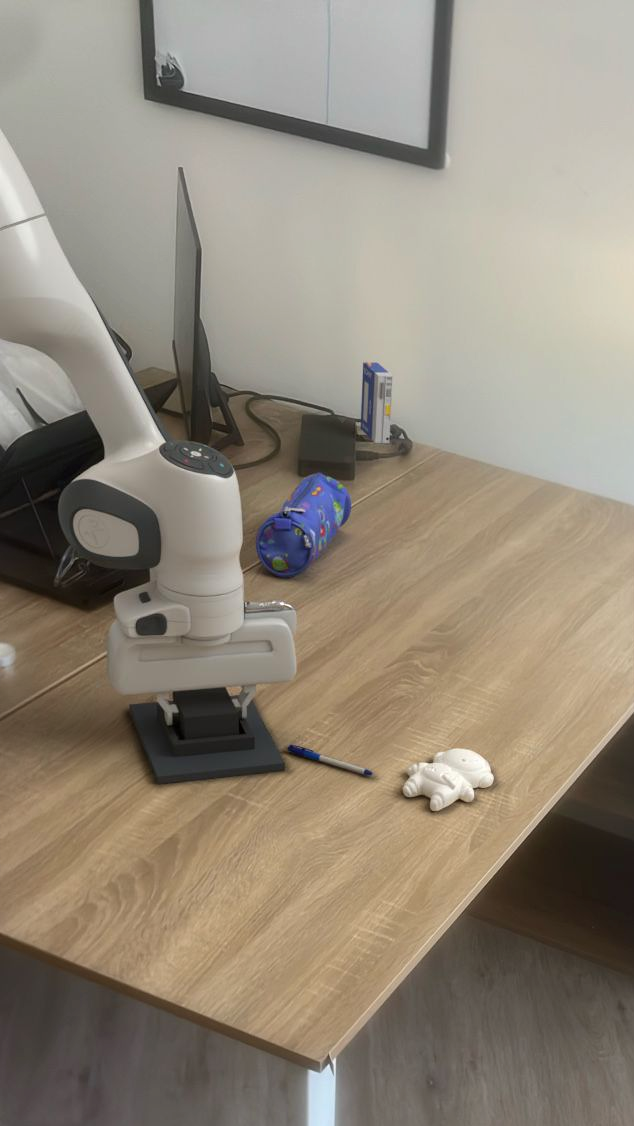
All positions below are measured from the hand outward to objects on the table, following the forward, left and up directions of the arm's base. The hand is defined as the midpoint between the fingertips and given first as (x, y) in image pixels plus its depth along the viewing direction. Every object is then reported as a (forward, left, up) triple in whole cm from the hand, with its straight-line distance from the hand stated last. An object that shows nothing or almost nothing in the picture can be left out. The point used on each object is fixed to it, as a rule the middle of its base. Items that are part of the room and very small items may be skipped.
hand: (205, 719), depth 144 cm
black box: (0, 0, -2) cm, 2 cm away
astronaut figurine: (+24, -14, -3) cm, 28 cm away
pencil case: (+26, +50, -3) cm, 56 cm away
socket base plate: (0, 0, -3) cm, 3 cm away
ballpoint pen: (+12, -8, -3) cm, 15 cm away
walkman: (+54, +100, -3) cm, 114 cm away
